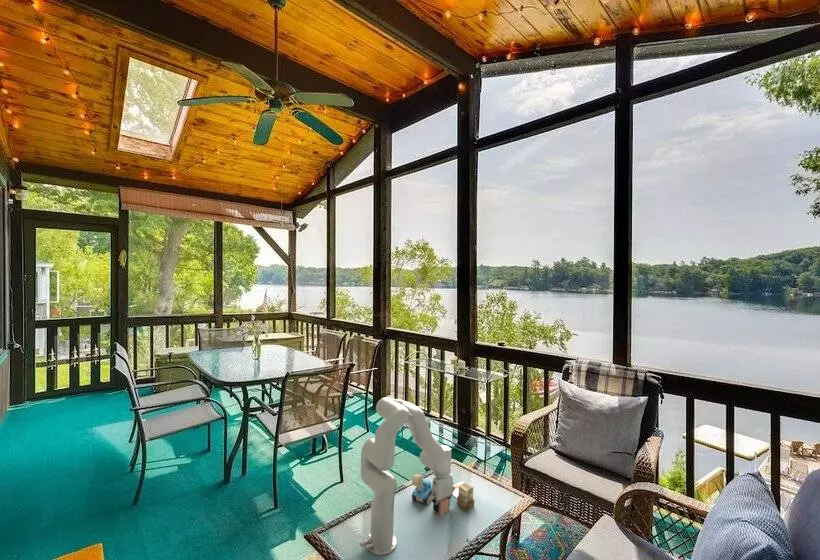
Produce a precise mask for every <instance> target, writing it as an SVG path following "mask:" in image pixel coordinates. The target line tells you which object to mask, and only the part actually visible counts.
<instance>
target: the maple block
mask: <svg viewBox="0 0 820 560" xmlns="http://www.w3.org/2000/svg"><path fill="white" fill-rule="evenodd" d="M473 490H474V486H473V485H471V484H469V483H468V482H464V483H463V484H461V485H459V495H458V497H459V498H460V499H461V500H462V501H464V502H465V503H466V502H468V501H470V500H472V499H474V491H473Z"/></svg>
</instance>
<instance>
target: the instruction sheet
mask: <svg viewBox="0 0 820 560" xmlns="http://www.w3.org/2000/svg"><path fill="white" fill-rule="evenodd" d="M463 483H465V482H464V481H462V480H461V481H459V482H457V483H455V484H453V486H454V487H455V490H454V491H453V494H452V495H451V496H453V497H455V499H457V496H458V495H459V485H461V484H463Z"/></svg>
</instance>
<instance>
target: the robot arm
mask: <svg viewBox="0 0 820 560" xmlns="http://www.w3.org/2000/svg"><path fill="white" fill-rule="evenodd" d="M375 410H376V413H377V415H378V416H380V417H381V418H383V419H384V421H383V422H382V423H381V424H380V425H379V426H378V427H377V429H376V430H375V435H374V437H370V438H368V439H367V440H366V441H365V442H364V444H363V445H362V448H361V452H360V454H361V455H360V477H361V480H362V483H364V484H365V486H366V487H368V488H370V490H371V492H373V494H374V495H373V496H374V497H373V498H372V499H371V503H370V533H369V534H368V535H367V538H366V539H365V540H361V541H360V542H359V546H360V548H364V547H365V550H368V551H369V552H370V553H371V554H373V555H377V556H386V555H387V556H388V555H389V554H391V553H393V552H394V551H395V549H396V548H397V545H398V543H397V537H396V536H395V534H394V522H395V521H394V518H395V516H394V515H395V514H394V512H395V511H394V510H395V497H396V491H397V486H398V484H397V483H398V482H397V478H396V477H395V476H394V474H392V472H390V470H391V468H393V466H394V463H395V452H396V451H395V450H396V448H395V447H396V446H395V445H396V437H397V434H398V432H399V431H400V430H401V429H402V428H403V426H404V425H406V424H407V427H408V429H409V431H410V435H411V436H412V440H413V441H414V443H415V444H416V445H417V446H418V447H419V449H421V450H422V451H421V452H420V454H419V457H418V458H419V462H420V463H421V464H422V465H423V466H425V467H426V468H428V469H429V470H430V471H432V472H434V473H433V478H432V482H431V484H432V493H431V494H430V496H429V497H428V499H430V501H431V502H432V503H433V506H432V507H433V510H434V511H435V512H436V513H438V509H439V505H438V501H439V500H441V499H443V498H445V497H447V498H449V508H450V506H451V499H452V496H453V495H452V494H453V491H454V490H455V487H454V486H453V485H454V479H453V475H452V473H451V471H452V470H451V469H452V449H451V447H450V446H449V445H446V444H440V442H439V440H438V439H437V438H436V437H435V436H434V434H433V432H432V431H431V428H430V426H429V423H428V421H427V417H426V416H425V412H424V410H423V409H422V408H420V407H419V406H417V405H415V404H413V403H412V402H409V401H406V400H402V399H398V398H397V399H396V398H393V397H390V396H385V397H382V398H380V399H379V400H378V401H377V403H376V405H375ZM435 499H436V501H435ZM438 514H439V513H438Z"/></svg>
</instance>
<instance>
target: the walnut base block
mask: <svg viewBox="0 0 820 560" xmlns="http://www.w3.org/2000/svg"><path fill="white" fill-rule="evenodd" d="M456 504H457V506H458V507H460V509H462V511H463V512H466V511H468V510H469V511H470V510H471V509H475V499H474V498H473V499H472V500H470V501H468V502H466V503H465V502H464V501H462V500H461V499H460V498H459V497H458V496H457V498H456Z"/></svg>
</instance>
